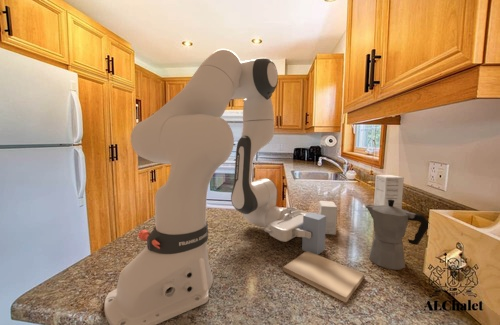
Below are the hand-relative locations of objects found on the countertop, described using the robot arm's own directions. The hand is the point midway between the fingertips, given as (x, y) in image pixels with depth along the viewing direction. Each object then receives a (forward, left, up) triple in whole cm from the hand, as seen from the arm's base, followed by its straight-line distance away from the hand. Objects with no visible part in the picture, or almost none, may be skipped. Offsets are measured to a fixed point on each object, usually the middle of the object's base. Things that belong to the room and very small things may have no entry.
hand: (316, 232), depth 68 cm
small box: (+18, +5, -6) cm, 20 cm away
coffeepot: (+9, -18, -6) cm, 21 cm away
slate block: (0, +1, -6) cm, 6 cm away
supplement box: (+70, -4, -6) cm, 70 cm away
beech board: (-10, -7, -6) cm, 14 cm away
